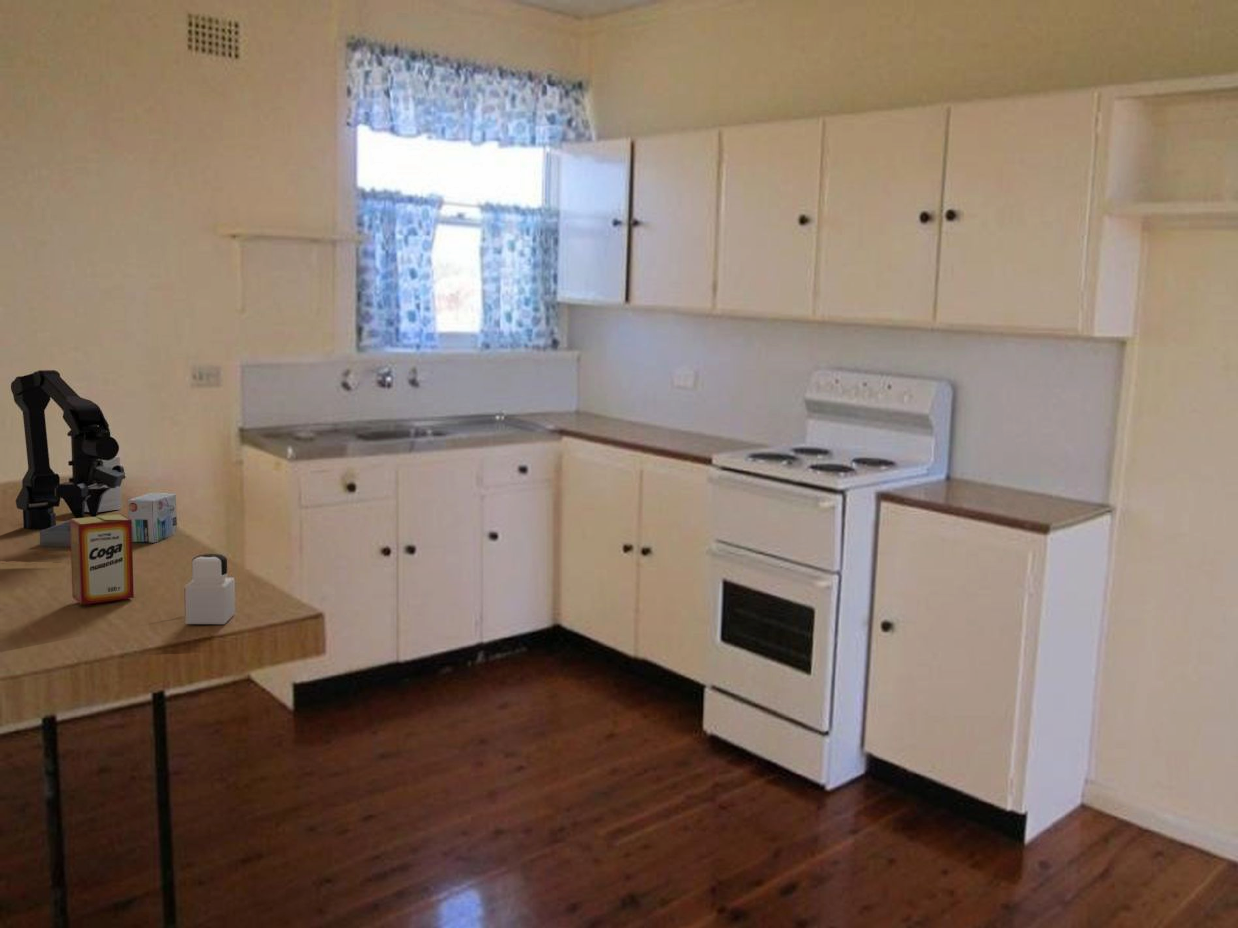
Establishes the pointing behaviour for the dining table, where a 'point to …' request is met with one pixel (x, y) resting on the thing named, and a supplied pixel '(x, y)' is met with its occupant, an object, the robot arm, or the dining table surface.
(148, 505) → the light bulb box
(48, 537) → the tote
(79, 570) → the baking soda box
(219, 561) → the medicine bottle
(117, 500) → the supplement box
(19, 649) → the dining table surface
